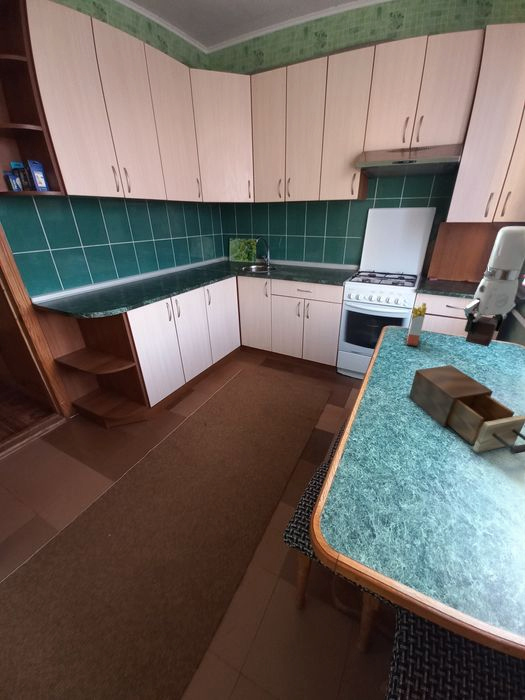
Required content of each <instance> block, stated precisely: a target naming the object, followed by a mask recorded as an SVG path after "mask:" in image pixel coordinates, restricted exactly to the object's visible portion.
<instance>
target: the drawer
mask: <svg viewBox="0 0 525 700" xmlns="http://www.w3.org/2000/svg"><path fill="white" fill-rule="evenodd" d="M514 415H515V412H514V411H513V410H511V409H510V408H508V407H507V406H506V405H504V404H503V403H501V402H499V401H497V400H496V399H494V398H493V397H492V396H491V397H490V396H488V395H487V394H485V395H480V396H474V397H468V398H462V399H457V400H455V402H454V405H453V407H452V410H451V413H450V416H449V419H448V422H447V424H448V425H449V426H448V427H450V428H452V429H453V430H454V431H455V432H456V433H457V434H459V436H461V437H462V438H463V439H464V440H465V441H466V442H468V443H469V444H471V445H472V444H473V447H472V450H473V451H474V452H475V453H481V452H485V451H491V450H495V449H496V450H497V449H501V448H505V447H506V448H507V449H508V451H509V453H510V454H511V455H517V454H522V453H525V443H524V444H520V445H519V444H518V445H515V443H516V441H517V439H518V438H520V439H522V440H524V441H525V435H524V434H523V433H521V432H522V429H523V428H524V426H525V415H524V414H519V415H515V416H514Z"/></svg>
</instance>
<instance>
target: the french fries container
mask: <svg viewBox="0 0 525 700" xmlns="http://www.w3.org/2000/svg"><path fill="white" fill-rule="evenodd" d="M426 312H427V303H426V302H422V304H421V306H419V305H418V306H417V307H413V308H412V316H411V320H410V325H409V328H408V333H407V338H406V345H407V346H412V347H413V346H414V347H418V345H419V340H420V336H421V334H422V333H421V332H422V329H423V325H424V320H425V317H426Z"/></svg>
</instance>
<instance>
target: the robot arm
mask: <svg viewBox="0 0 525 700" xmlns="http://www.w3.org/2000/svg"><path fill="white" fill-rule="evenodd" d="M524 262H525V226H524V225H523V226H522V225H521V226H520V225H512V226H511V225H510V226H503V227H502V228H500V229H499V230H498V232H497V235H496V237H495V241H494V244H493V247H492V250H491V253H490V257H489V259H488V263H487V266H486V269H485V272H484V273H483V278H482V279H481V281H480V282H479V284H478V286H477V288H476V291H475V292H474V295H473V299H472V301H471V302H470V303H469V304H468V305H466V306H464V308H463V311H464V315H465V317H466V324H465V327H464V332H465V333H467V334H468V333H470V334H475V331H476V328H477V325H478V322H477V321H478V319H479V318H480V317H481V316H485V317H489V316H492V317H491V318H496V319H499V321H498V323H497V326H496V329H495V332H500V331H501V328H502V327H503V323H504V320H505V319H507V318H508V315H510V313H511V312H512V310H513V309H514V308H515V307H516V306H517V304H516V302H515V300H516V297H517V293H518V287H519V279H518V278H519V276H520V274H521V270H522V267H523V266H524ZM475 314H476V315H475Z"/></svg>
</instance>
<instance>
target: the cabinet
mask: <svg viewBox="0 0 525 700" xmlns="http://www.w3.org/2000/svg"><path fill="white" fill-rule="evenodd" d="M485 394H487V395H488V396H490V397H491V398H492V394H493V390H492V389H490V388H489V387H487V386H485V385H484V384H482V383H481V382H479V381H478V380H476V379H475V378H472V377H471V376H469V375H468V374H467V373H465V372H463V371H462V370H460V369H458V368H457V367H455V366H454V365H452V364H449V365H442V366H441V365H440V366H433V367H428V368H421V369H415V372H414V376H413V381H412V384H411V388H410V391H409V395H408V397H409V398H410V399H411V400H412V401H413V402H414V403H415V404H417V405H418V407H420V408H421V409H422V410H423V411H424V412H426V413H427V414H428V415H429V416H430V417H431V418H432V419H433V420H434V421H436V422H437V423H438V424H439V425H440V426H442V427H443V428H445V427H450V426H449V425H448V424H447V422H448V419H449V416H450V413H451V410H452V407H453V405H454V402H455V400H457V399H462V398H468V397H474V396H480V395H485Z"/></svg>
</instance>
